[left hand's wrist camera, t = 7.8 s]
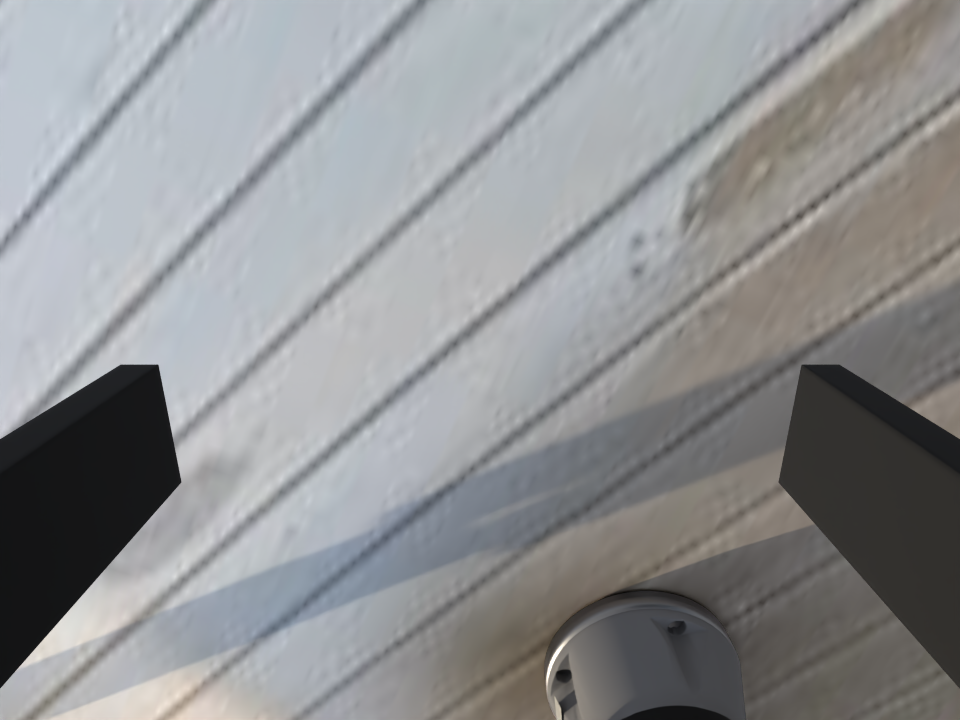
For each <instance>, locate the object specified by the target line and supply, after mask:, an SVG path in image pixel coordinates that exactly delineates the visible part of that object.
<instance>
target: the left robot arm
mask: <svg viewBox="0 0 960 720" xmlns="http://www.w3.org/2000/svg"><path fill="white" fill-rule="evenodd" d="M180 483H181V478H180V473H179V467H178V462H177V457H176V452H175V447H174V442H173V437H172V432H171V427H170V422H169V417H168V412H167V406H166V401H165V396H164V391H163V386H162V381H161V376H160V371H159V366H158V365H120V366H118V367H116V368H115V369H113V370H111V371H110V372H108V373H107V374H105V375H103V376H102V377H100V378H98V379H97V380H95V381H94V382H92V383H90V384H89V385H87V386H86V387H84V388H82V389H81V390H79V391H77V392H76V393H74V394H73V395H71V396H69V397H68V398H66V399H65V400H63V401H61V402H60V403H58V404H56V405H55V406H53V407H52V408H50V409H48V410H47V411H45V412H44V413H42V414H40V415H39V416H37V417H35V418H34V419H32V420H31V421H29V422H27V423H26V424H24V425H22V426H21V427H19V428H18V429H16V430H14V431H13V432H11V433H10V434H8V435H6V436H5V437H3V438H1V439H0V688H1V687H2V686H3V685H4V684H5V682H6V681H7V680H8V679H9V678H10V677H11V676H12V674H13V673H14V672H15V671H16V670H17V669H18V668H19V666H20V665H21V664H22V663H23V662H24V661H25V660H26V658H27V657H28V656H29V655H30V654H31V653H32V652H33V651H34V649H35V648H36V647H37V646H38V645H39V644H40V643H41V641H42V640H43V639H44V638H45V637H46V636H47V635H48V633H49V632H50V631H51V630H52V629H53V628H54V627H55V626H56V624H57V623H58V622H59V621H60V620H61V619H62V618H63V616H64V615H65V614H66V613H67V612H68V611H69V610H70V608H71V607H72V606H73V605H74V604H75V603H76V602H77V600H78V599H79V598H80V597H81V596H82V595H83V594H84V593H85V591H86V590H87V589H88V588H89V587H90V586H91V585H92V583H93V582H94V581H95V580H96V579H97V578H98V577H99V575H100V574H101V573H102V572H103V571H104V570H105V569H106V567H107V566H108V565H109V564H110V563H111V562H112V561H113V560H114V558H115V557H116V556H117V555H118V554H119V553H120V552H121V550H122V549H123V548H124V547H125V546H126V545H127V544H128V542H129V541H130V540H131V539H132V538H133V537H134V536H135V534H136V533H137V532H138V531H139V530H140V529H141V528H142V527H143V525H144V524H145V523H146V522H147V521H148V520H149V519H150V517H151V516H152V515H153V514H154V513H155V512H156V511H157V509H158V508H159V507H160V506H161V505H162V504H163V503H164V502H165V500H166V499H167V498H168V497H169V496H170V495H171V494H172V492H173V491H174V490H175V489H176V488H177V487H178V486H179V484H180ZM779 483H780V484H781V486H782V487H783V488H784V489H785V490H786V491H787V492H788V494H789V495H790V496H791V497H792V498H793V499H794V500H795V502H796V503H797V504H798V505H799V506H800V507H801V508H802V509H803V511H804V512H805V513H806V514H807V515H808V516H809V517H810V519H811V520H812V521H813V522H814V523H815V524H816V525H817V527H818V528H819V529H820V530H821V531H822V532H823V533H824V535H825V536H826V537H827V538H828V539H829V540H830V541H831V542H832V544H833V545H834V546H835V547H836V548H837V549H838V550H839V552H840V553H841V554H842V555H843V556H844V557H845V558H846V560H847V561H848V562H849V563H850V564H851V565H852V566H853V567H854V569H855V570H856V571H857V572H858V573H859V574H860V575H861V577H862V578H863V579H864V580H865V581H866V582H867V583H868V585H869V586H870V587H871V588H872V589H873V590H874V591H875V593H876V594H877V595H878V596H879V597H880V598H881V599H882V600H883V602H884V603H885V604H886V605H887V606H888V607H889V608H890V610H891V611H892V612H893V613H894V614H895V615H896V616H897V618H898V619H899V620H900V621H901V622H902V623H903V624H904V626H905V627H906V628H907V629H908V630H909V631H910V632H911V633H912V635H913V636H914V637H915V638H916V639H917V640H918V641H919V643H920V644H921V645H922V646H923V647H924V648H925V649H926V651H927V652H928V653H929V654H930V655H931V656H932V657H933V659H934V660H935V661H936V662H937V663H938V664H939V665H940V666H941V668H942V669H943V670H944V671H945V672H946V673H947V674H948V676H949V677H950V678H951V679H952V680H953V681H954V682H955V684H956V685H957V686H958V687H959V688H960V439H959V438H957V437H955V436H954V435H952V434H950V433H949V432H947V431H946V430H944V429H942V428H941V427H939V426H938V425H936V424H934V423H933V422H931V421H929V420H928V419H926V418H925V417H923V416H921V415H920V414H918V413H916V412H915V411H913V410H912V409H910V408H908V407H907V406H905V405H904V404H902V403H900V402H899V401H897V400H895V399H894V398H892V397H891V396H889V395H887V394H886V393H884V392H883V391H881V390H879V389H878V388H876V387H874V386H873V385H871V384H870V383H868V382H866V381H865V380H863V379H862V378H860V377H858V376H857V375H855V374H853V373H852V372H850V371H849V370H847V369H845V368H844V367H842V366H840V365H802V366H801V371H800V376H799V381H798V386H797V391H796V396H795V401H794V406H793V412H792V417H791V422H790V427H789V432H788V437H787V442H786V447H785V452H784V457H783V462H782V467H781V472H780V478H779ZM544 674H545V683H546V691H547V698H548V702H549V705H550V708H551V710H552V712H553V714H554V716H555V718H556V720H746V715H745V705H744V695H743V686H742V676H741V666H740V661H739V657H738V654H737V652H736V650H735V648H734V646H733V644H732V642H731V640H730V638H729V636H728V634H727V632H726V630H725V628H724V627H723V625H722V624H721V622H720V621H719V620H718V619H717V618H716V617H715V616H714V615H713V614H712V613H711V612H710V611H709V610H707V609H706V608H705V607H703V606H701V605H700V604H698V603H696V602H694V601H692V600H690V599H687V598H685V597H682V596H679V595H675V594H671V593H665V592H657V591H636V592H628V593H622V594H618V595H613V596H610V597H607V598H604V599H602V600H599V601H597V602H595V603H592V604H590V605H588V606H587V607H585V608H583V609H582V610H580V611H579V612H577V613H576V614H575V615H573V616H572V617H571V618H570V619H569V620H568V621H566V622H565V624H564V625H563V626H562V627H561V628H560V629H559V630H558V632H557V633H556V634H555V636H554V638H553V639H552V641H551V643H550V645H549V647H548V650H547V653H546V658H545V665H544Z"/></svg>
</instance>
